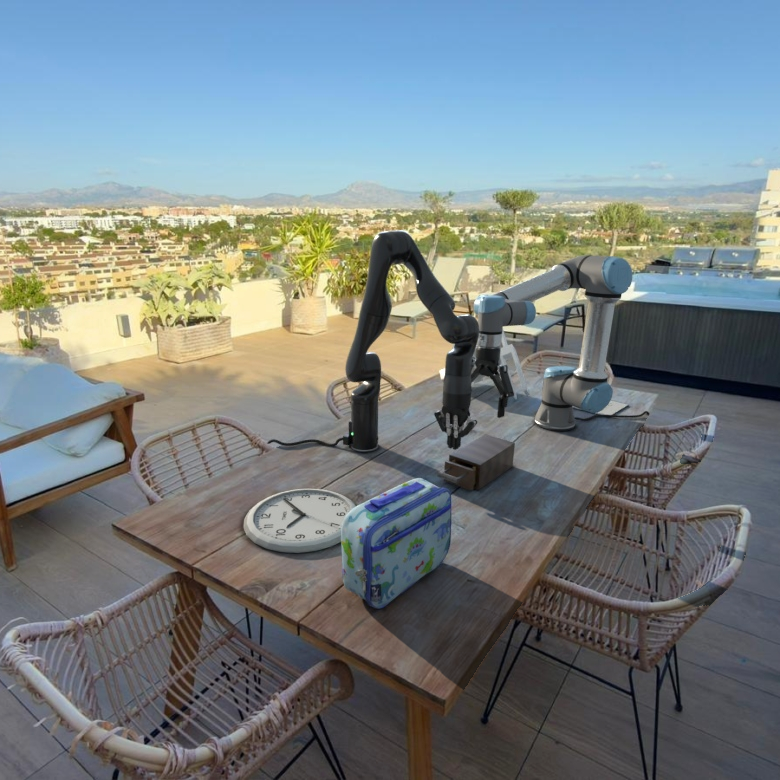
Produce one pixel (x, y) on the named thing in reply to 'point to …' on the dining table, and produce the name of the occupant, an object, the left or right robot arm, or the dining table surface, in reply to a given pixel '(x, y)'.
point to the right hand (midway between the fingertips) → (483, 411)
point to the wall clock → (298, 520)
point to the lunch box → (395, 540)
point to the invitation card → (611, 408)
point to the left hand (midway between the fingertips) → (453, 447)
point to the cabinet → (486, 458)
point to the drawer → (459, 474)
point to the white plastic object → (505, 355)
